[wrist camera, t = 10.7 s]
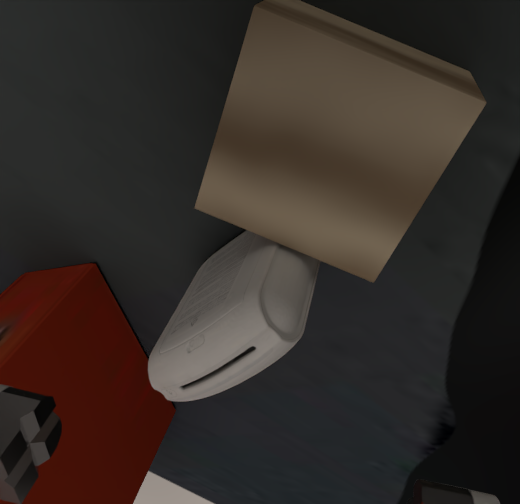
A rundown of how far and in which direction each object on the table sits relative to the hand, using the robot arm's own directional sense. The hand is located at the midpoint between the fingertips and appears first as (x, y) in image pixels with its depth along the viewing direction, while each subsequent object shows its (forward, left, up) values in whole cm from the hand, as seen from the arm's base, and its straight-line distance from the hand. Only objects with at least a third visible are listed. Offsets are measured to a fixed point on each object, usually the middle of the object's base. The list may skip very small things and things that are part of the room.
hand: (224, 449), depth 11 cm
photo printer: (+10, -4, -23) cm, 25 cm away
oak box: (0, 0, -23) cm, 23 cm away
